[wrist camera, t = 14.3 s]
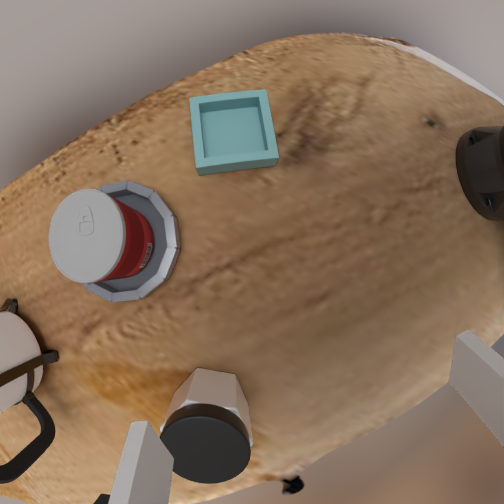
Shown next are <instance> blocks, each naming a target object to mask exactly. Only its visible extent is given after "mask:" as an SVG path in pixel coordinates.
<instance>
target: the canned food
mask: <svg viewBox="0 0 504 504" xmlns="http://www.w3.org/2000/svg"><path fill="white" fill-rule="evenodd" d="M49 248H50V252H51V256H52V258H53V261H54V263H55V265H56V266H57V268H58V269H59V271H60V272H61V273H62V274H63V275H64V276H66V277H67V278H69V279H70V280H73V281H76V282H80V283H95V282H102V281H109V280H116V279H122V278H129V277H132V276H135V275H137V274H138V273H140V272H141V271H142V270H143V269H144V268H145V267H146V266H147V264H148V263H149V261H150V259H151V256H152V253H153V249H154V236H153V231H152V228H151V226H150V224H149V222H148V220H147V219H146V218H145V217H144V216H143V215H142V214H141V213H140V212H138V211H136V210H134V209H133V208H131V207H129V206H127V205H126V204H124V203H122V202H121V201H119V200H117V199H115V198H114V197H112V196H110V195H108V194H106V193H104V192H102V191H99V190H95V189H82V190H78V191H76V192H74V193H72V194H70V195H69V196H67V197H66V198H65V199H64V200H63V201H62V202H61V203H60V205H59V206H58V208H57V209H56V211H55V213H54V215H53V218H52V220H51V224H50V228H49Z"/></svg>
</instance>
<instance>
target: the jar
mask: <svg viewBox="0 0 504 504" xmlns="http://www.w3.org/2000/svg"><path fill="white" fill-rule="evenodd" d="M160 431H161V432H162V433H161V435H160V440H161V441H162V442H163V444H164V445H165V447H166V448H167V450H168V451H169V452H170V454H171V455H172V456H173V458H174V463H173V470H172V471H173V472H175V473H176V474H178V475H179V476H181V477H183V478H185V479H188V480H190V481H194V482H198V483H207V484H211V483H220V482H224V481H227V480H230V479H232V478H234V477H236V476H237V475H239V474H240V473H241V472H242V471H243V470H244V469H245V468H246V466H247V465H248V462H249V460H250V455H251V449H250V447H251V446H252V445H253V438H252V431H251V423H250V414H249V406H248V403H247V400H246V398H245V396H244V394H243V391H242V389H241V386H240V384H239V382H238V379H237V377H236V375H235V374H231V373H225V372H219V371H213V370H208V369H202V368H196V369H195V371H194V372H193V373H192V374H191V375H190V376H189V377H188V378H187V379H186V381H185V382H184V383H183V384H182V385H181V386H180V387H179V388H178V389H177V391H176V392H175V394H174V396H173V398H172V400H171V403H170V405H169V407H168V410H167V412H166V414H165V417H164V419H163V421H162V423H161V426H160Z"/></svg>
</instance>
